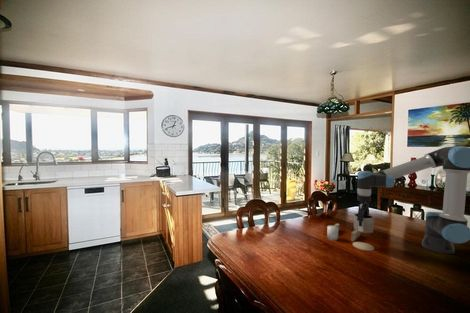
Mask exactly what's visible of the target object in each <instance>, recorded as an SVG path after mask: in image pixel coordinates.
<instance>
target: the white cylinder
mask: <svg viewBox="0 0 470 313" xmlns="http://www.w3.org/2000/svg"><path fill="white" fill-rule="evenodd" d="M326 229H327V230H326V233H327V234H326V239H328V240H330V241H338V240H339V231H338V227H336V226H333V225H327V227H326Z"/></svg>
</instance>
